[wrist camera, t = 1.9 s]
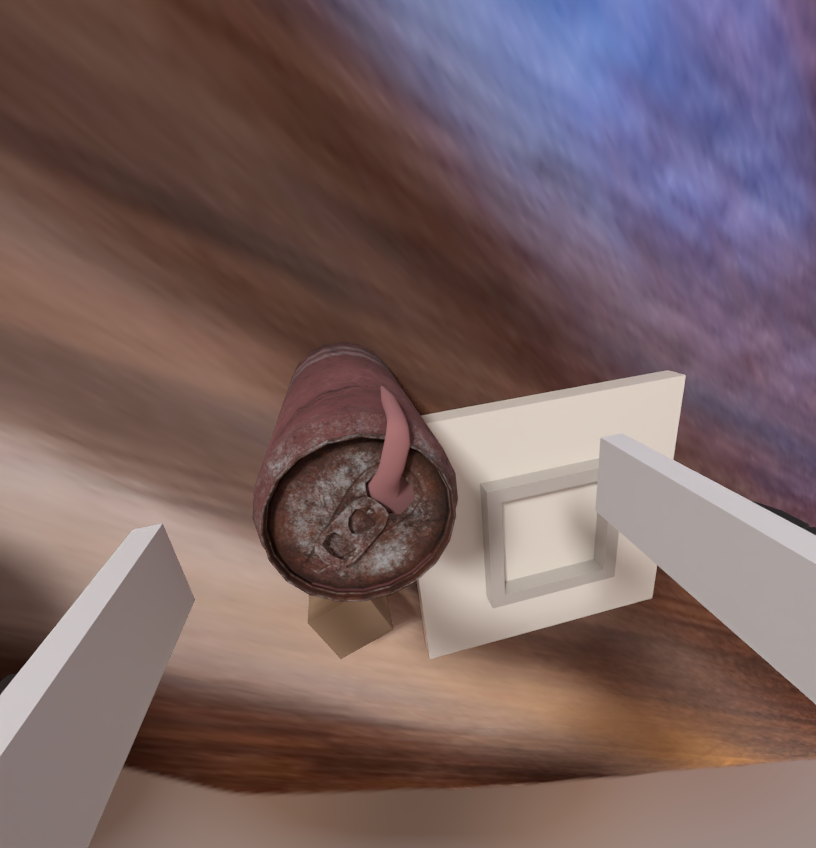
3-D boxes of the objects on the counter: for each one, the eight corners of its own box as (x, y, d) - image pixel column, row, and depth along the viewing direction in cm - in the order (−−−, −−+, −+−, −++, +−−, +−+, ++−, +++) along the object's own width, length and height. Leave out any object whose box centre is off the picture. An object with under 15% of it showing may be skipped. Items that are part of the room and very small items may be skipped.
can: (401, 345, 23) (494, 429, 10) (383, 442, 25) (442, 613, 12) (296, 327, 22) (255, 399, 9) (286, 432, 24) (240, 614, 11)
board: (425, 642, 32) (433, 673, 30) (393, 420, 25) (401, 436, 22) (639, 585, 35) (663, 608, 32) (667, 370, 28) (701, 379, 25)
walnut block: (339, 611, 29) (340, 659, 26) (310, 577, 28) (307, 622, 24) (385, 585, 29) (393, 629, 26) (358, 550, 28) (363, 591, 24)
